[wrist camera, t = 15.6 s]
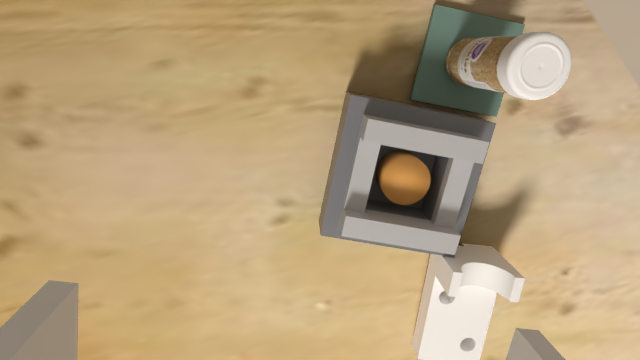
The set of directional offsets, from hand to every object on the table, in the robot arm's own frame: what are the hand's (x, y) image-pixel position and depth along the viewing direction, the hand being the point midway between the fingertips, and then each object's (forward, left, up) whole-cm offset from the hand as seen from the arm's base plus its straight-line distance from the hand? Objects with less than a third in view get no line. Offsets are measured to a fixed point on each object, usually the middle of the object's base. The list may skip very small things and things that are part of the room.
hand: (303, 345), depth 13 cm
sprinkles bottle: (+15, +11, -32) cm, 37 cm away
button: (+11, -1, -31) cm, 33 cm away
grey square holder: (+11, -1, -32) cm, 34 cm away
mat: (+15, +11, -32) cm, 37 cm away
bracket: (+20, -15, -33) cm, 41 cm away
